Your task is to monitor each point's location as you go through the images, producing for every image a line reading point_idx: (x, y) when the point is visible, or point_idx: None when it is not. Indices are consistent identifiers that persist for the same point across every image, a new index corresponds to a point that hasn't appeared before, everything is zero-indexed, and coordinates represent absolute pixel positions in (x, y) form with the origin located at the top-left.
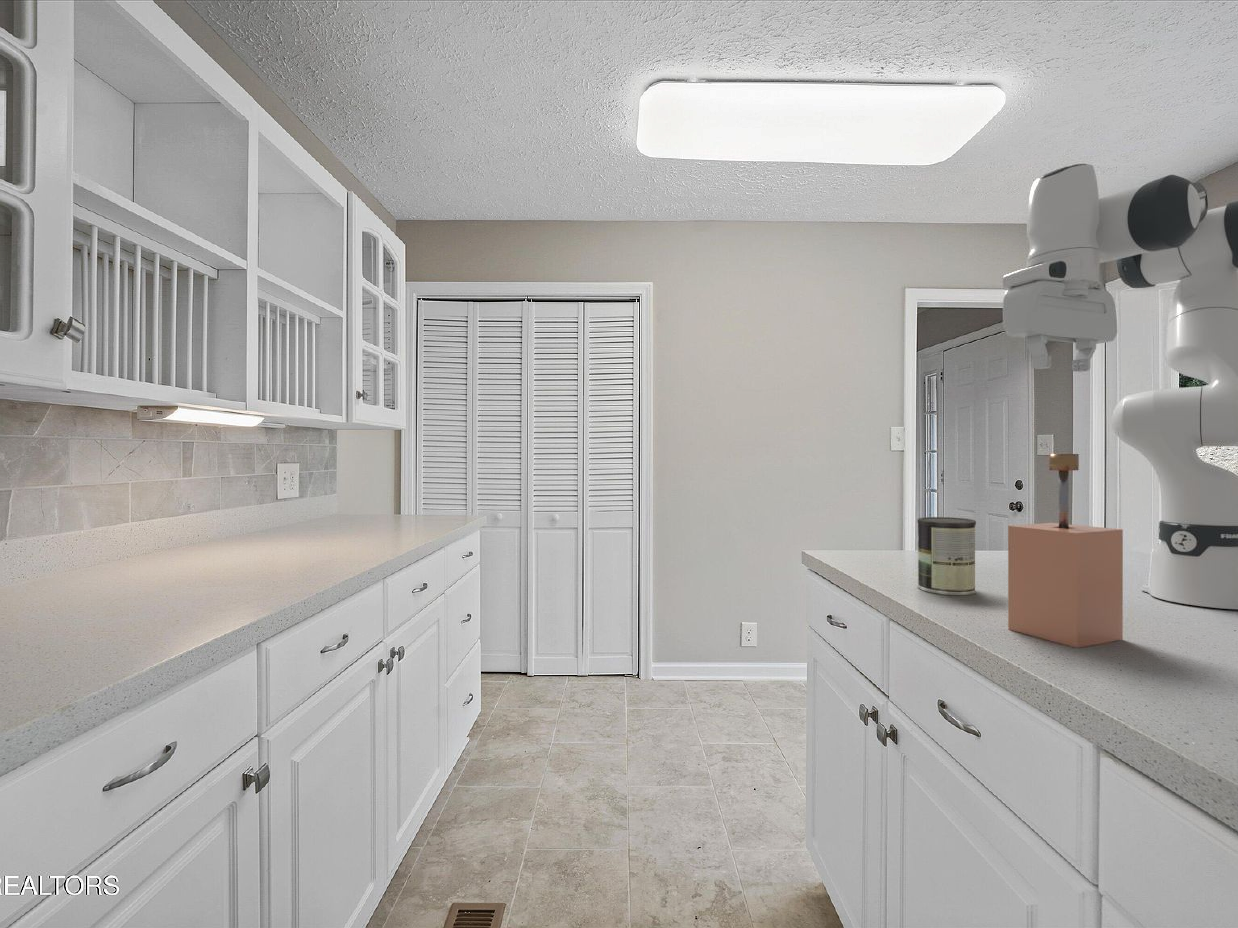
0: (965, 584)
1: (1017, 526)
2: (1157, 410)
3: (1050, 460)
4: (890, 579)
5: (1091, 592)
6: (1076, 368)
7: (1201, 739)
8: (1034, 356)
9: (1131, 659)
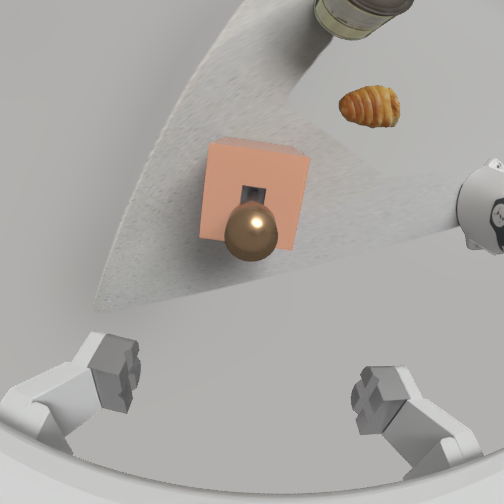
0: (341, 33)
1: (211, 155)
2: None
3: (231, 216)
4: None
5: None
6: (365, 383)
7: (115, 302)
8: (68, 369)
9: None
